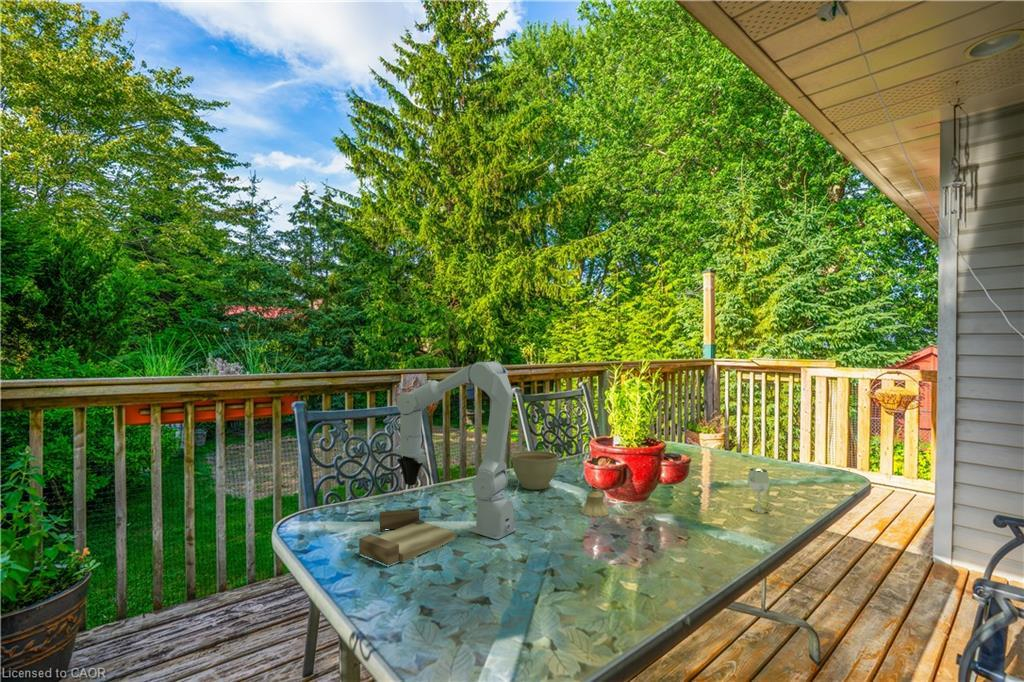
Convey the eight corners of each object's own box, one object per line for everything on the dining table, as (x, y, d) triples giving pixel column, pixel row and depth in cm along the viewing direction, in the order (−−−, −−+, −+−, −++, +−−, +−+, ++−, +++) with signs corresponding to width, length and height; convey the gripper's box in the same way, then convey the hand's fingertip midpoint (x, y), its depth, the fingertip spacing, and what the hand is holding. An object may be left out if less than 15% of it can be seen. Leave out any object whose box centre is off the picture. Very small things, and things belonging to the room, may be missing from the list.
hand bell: (601, 519, 138) (601, 462, 139) (575, 513, 143) (575, 458, 144) (614, 511, 145) (614, 457, 145) (589, 506, 150) (589, 453, 150)
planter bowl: (566, 484, 174) (566, 453, 174) (544, 496, 160) (544, 462, 160) (526, 478, 182) (526, 448, 182) (502, 488, 168) (502, 456, 169)
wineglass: (764, 508, 149) (764, 468, 150) (772, 514, 144) (772, 472, 144) (744, 507, 150) (744, 467, 150) (752, 513, 144) (752, 472, 144)
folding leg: (419, 526, 131) (419, 510, 131) (380, 531, 128) (380, 514, 128) (417, 523, 134) (417, 507, 134) (379, 527, 130) (379, 510, 131)
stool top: (455, 540, 123) (455, 523, 123) (391, 569, 106) (391, 550, 106) (419, 528, 130) (419, 513, 130) (353, 553, 114) (353, 536, 114)
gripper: (436, 437, 135) (435, 487, 135) (412, 430, 147) (411, 476, 147) (412, 440, 131) (411, 492, 131) (389, 432, 142) (389, 480, 142)
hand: (410, 484), depth 138 cm, fingers closed
